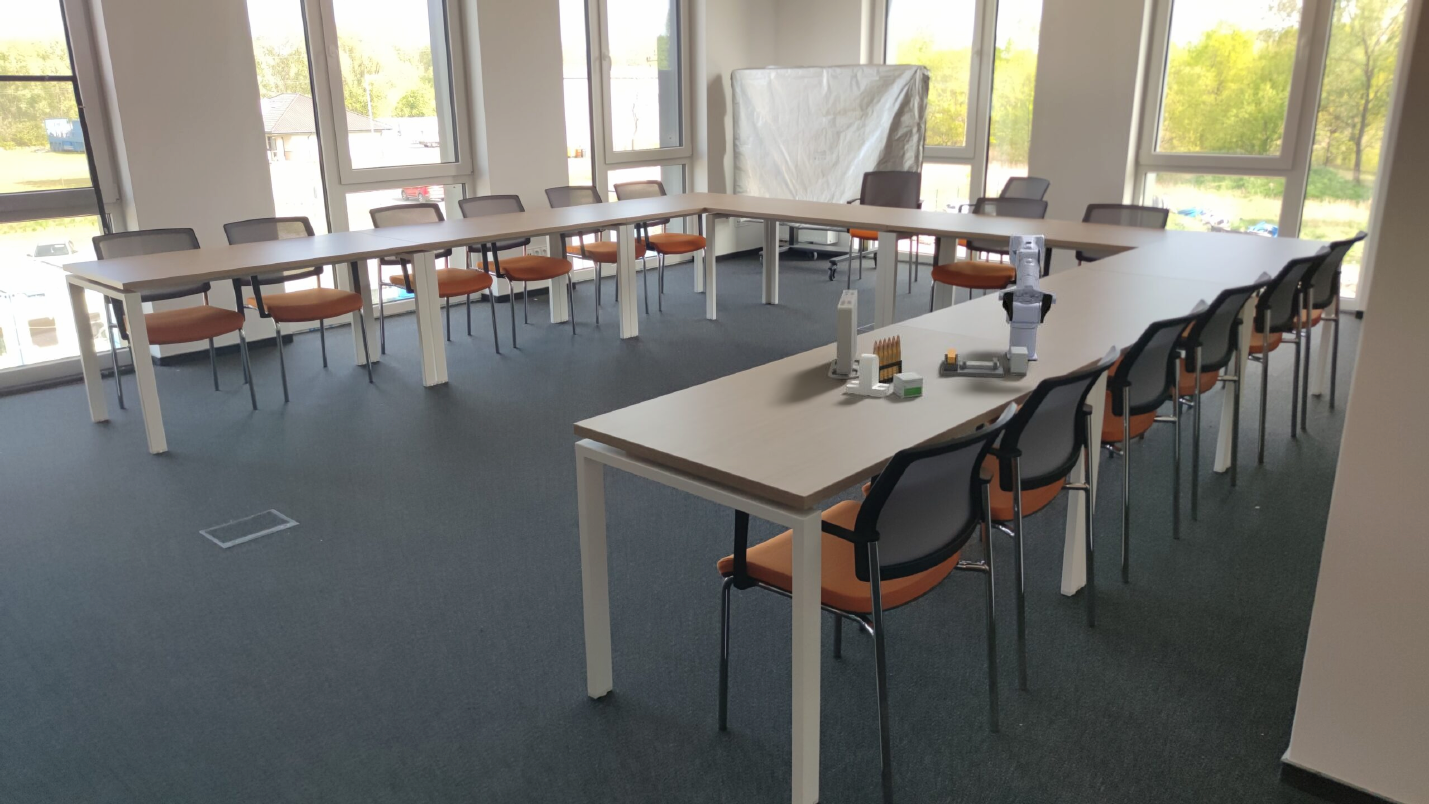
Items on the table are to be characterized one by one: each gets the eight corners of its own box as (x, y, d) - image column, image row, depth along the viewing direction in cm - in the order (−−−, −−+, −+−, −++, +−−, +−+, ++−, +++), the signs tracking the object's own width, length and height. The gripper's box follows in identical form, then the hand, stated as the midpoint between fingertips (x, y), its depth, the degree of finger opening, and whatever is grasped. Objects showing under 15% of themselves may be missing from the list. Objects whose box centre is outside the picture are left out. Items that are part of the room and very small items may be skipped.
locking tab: (947, 356, 265) (947, 349, 264) (954, 356, 264) (955, 349, 264) (947, 364, 257) (947, 356, 256) (955, 364, 257) (955, 357, 256)
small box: (902, 398, 238) (903, 379, 237) (892, 392, 244) (892, 373, 242) (923, 396, 240) (923, 377, 238) (912, 389, 245) (913, 371, 244)
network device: (859, 382, 252) (860, 308, 246) (826, 381, 254) (826, 307, 248) (864, 357, 276) (865, 288, 270) (834, 356, 278) (834, 288, 272)
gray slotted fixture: (944, 360, 266) (944, 353, 266) (997, 362, 263) (998, 355, 262) (943, 370, 257) (944, 363, 256) (999, 372, 254) (999, 365, 253)
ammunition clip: (875, 386, 248) (876, 341, 245) (869, 385, 250) (870, 340, 246) (902, 378, 255) (903, 334, 251) (896, 377, 256) (897, 333, 253)
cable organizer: (883, 397, 239) (884, 358, 236) (845, 393, 244) (846, 355, 241) (889, 391, 244) (890, 353, 241) (852, 387, 248) (853, 350, 245)
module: (1009, 367, 261) (1010, 346, 259) (1024, 368, 260) (1026, 346, 258) (1010, 374, 255) (1012, 353, 253) (1026, 375, 254) (1028, 353, 252)
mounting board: (941, 363, 268) (941, 359, 267) (1001, 365, 264) (1001, 361, 264) (941, 375, 256) (941, 371, 256) (1003, 377, 253) (1003, 373, 252)
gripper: (1001, 270, 256) (999, 306, 247) (1058, 273, 252) (1058, 310, 244) (998, 289, 261) (996, 325, 253) (1054, 293, 258) (1054, 329, 249)
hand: (1026, 319), depth 249 cm, fingers open, 7 cm apart
